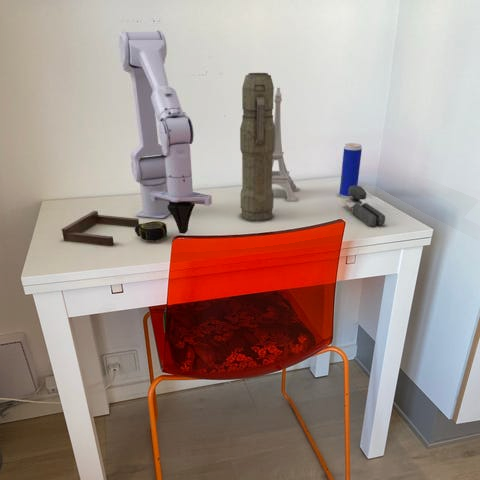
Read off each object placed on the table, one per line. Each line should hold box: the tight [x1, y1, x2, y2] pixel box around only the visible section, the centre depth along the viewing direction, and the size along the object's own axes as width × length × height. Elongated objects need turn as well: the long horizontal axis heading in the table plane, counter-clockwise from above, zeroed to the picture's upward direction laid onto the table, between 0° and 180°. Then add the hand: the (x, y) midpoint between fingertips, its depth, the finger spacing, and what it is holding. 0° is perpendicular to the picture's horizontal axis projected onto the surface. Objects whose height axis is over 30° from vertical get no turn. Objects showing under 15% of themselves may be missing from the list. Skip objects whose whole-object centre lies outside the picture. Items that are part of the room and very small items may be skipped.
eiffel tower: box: [272, 87, 298, 202], centre depth 140 cm, size 13×13×30 cm
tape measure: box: [134, 220, 168, 242], centre depth 115 cm, size 7×7×4 cm
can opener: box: [340, 185, 386, 228], centre depth 128 cm, size 19×5×6 cm, turn 13°
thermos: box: [239, 72, 275, 223], centre depth 120 cm, size 9×12×35 cm
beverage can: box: [339, 142, 363, 198], centre depth 141 cm, size 5×5×15 cm
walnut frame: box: [61, 210, 140, 247], centre depth 119 cm, size 14×13×3 cm
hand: (183, 232), depth 113 cm, fingers closed
